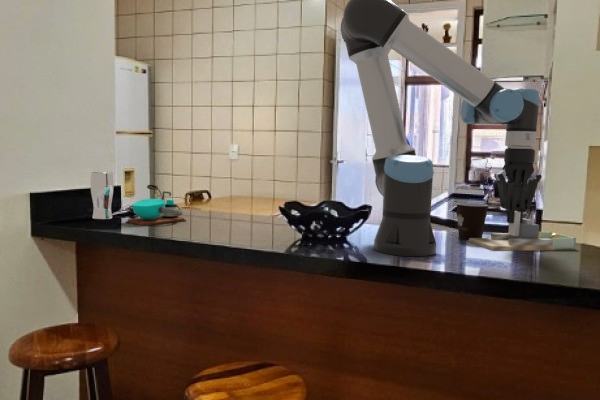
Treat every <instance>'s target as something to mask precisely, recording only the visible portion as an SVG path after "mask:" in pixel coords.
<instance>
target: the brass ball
mask: <svg viewBox="0 0 600 400" xmlns="http://www.w3.org/2000/svg"><path fill="white" fill-rule="evenodd" d="M559 234H560V233H558V234H557V232H554V233H553V234H551V235H550V236H549V239H551V238H561V236H560V235H559Z"/></svg>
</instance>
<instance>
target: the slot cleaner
mask: <svg viewBox="0 0 600 400" xmlns="http://www.w3.org/2000/svg"><path fill="white" fill-rule="evenodd" d="M539 231H540V224H536V223H533V219H529V218H525V217H523V218H522V223H520V227H519V236H512V235H509V239H538V236H539Z"/></svg>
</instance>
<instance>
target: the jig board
mask: <svg viewBox="0 0 600 400" xmlns="http://www.w3.org/2000/svg"><path fill="white" fill-rule="evenodd" d="M468 243H470V244H473V245H475V246H476V245H477V246H478V247H480V248H481V247H482V248H484V249H488V250H490V251H555V250H556V249H555V246H554V245H552V244H553V239H509V234H508V232H504V233H503V232H497V233H496V232H494V233H493V232H492V233H490V237H482V238H469V240H468Z"/></svg>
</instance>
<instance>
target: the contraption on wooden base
mask: <svg viewBox="0 0 600 400" xmlns="http://www.w3.org/2000/svg"><path fill="white" fill-rule="evenodd" d="M146 189H149V190H153V191H154V193H153V194H154V196H155V197H156V198H145V199H141V200H138V201H136V202H133V203H132V204H131V207H132V210H133V212H134V214H135V215H136V216H137V218H136V217H135V218H129V219H127V221H125V224H129V225H134V226H140V227H141V226H142V227H153V226H160V225H168V224H169V225H170V224H177V223H187V220H186V218H185V217H182V216H183V214H184V213H183V209H182V206H180V205H179V204H176V203H175V200H174V199H166V200H165V194H168V196H169V197H172V192H171V191H165V190H164V191H161V190H160V189H159V187H158V185H155V184H148V185H147V186H146ZM157 190H158V192H159V194H160V196H161V197H160V198H157V197H158V195H156V191H157Z"/></svg>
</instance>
